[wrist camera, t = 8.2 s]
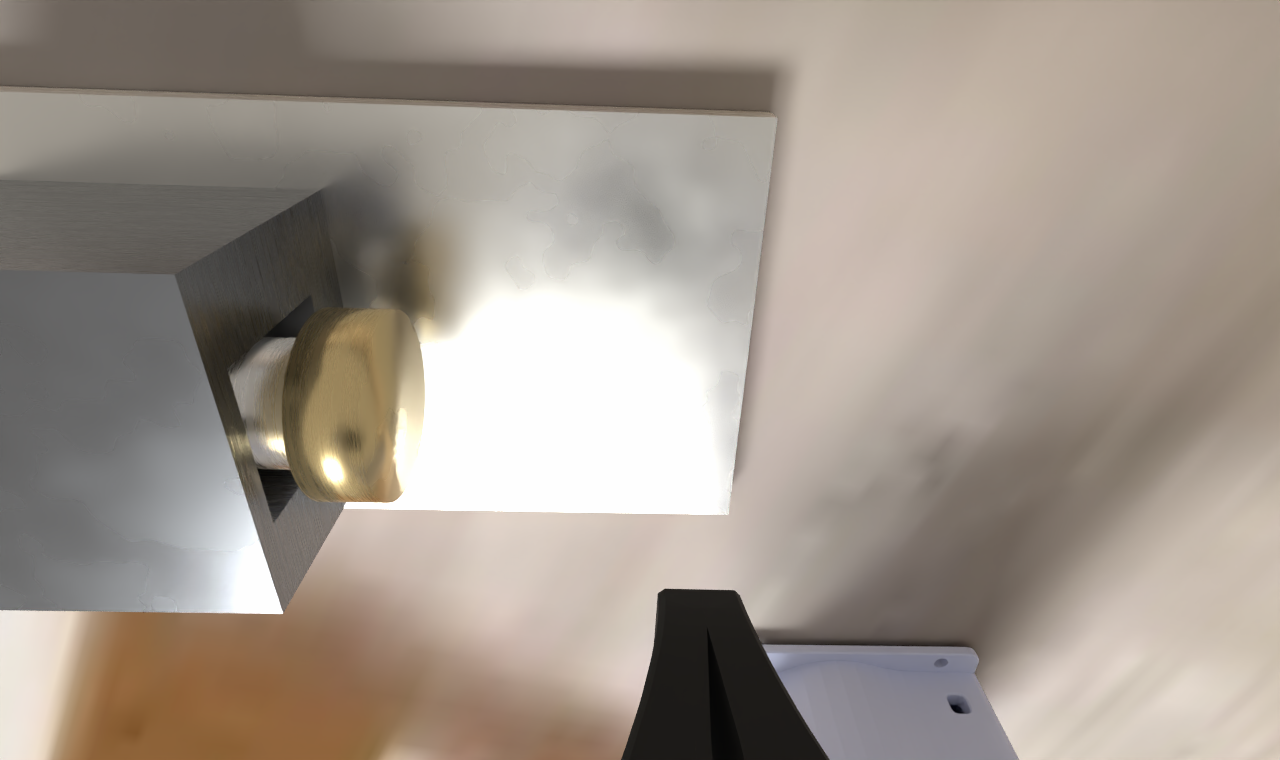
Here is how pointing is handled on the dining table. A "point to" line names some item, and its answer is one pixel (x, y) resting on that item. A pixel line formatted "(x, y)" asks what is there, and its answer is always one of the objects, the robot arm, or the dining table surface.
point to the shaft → (337, 404)
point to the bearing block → (355, 278)
